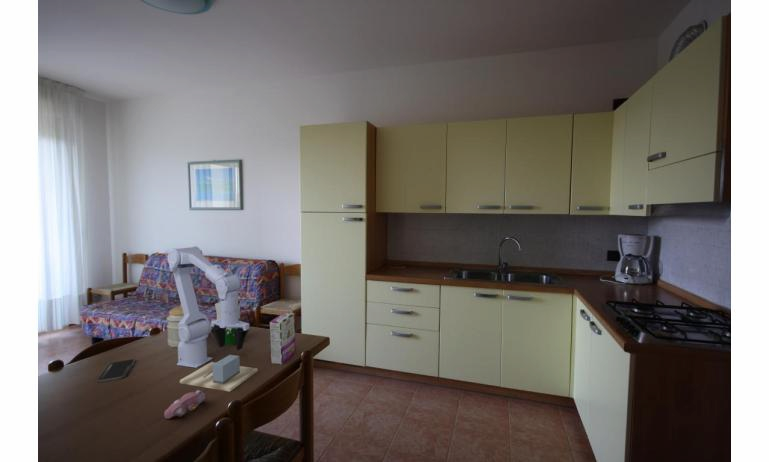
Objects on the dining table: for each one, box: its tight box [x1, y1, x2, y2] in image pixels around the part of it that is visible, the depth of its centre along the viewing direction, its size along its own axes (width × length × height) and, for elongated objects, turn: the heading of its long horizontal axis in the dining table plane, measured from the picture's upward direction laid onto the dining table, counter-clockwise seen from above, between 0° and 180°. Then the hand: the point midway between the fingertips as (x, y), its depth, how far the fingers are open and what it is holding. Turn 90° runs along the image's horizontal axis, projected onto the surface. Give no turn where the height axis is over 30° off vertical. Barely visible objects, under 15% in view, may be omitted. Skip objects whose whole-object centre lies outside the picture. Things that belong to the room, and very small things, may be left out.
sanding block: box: [212, 354, 241, 384], centre depth 114 cm, size 4×8×6 cm, turn 165°
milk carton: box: [214, 299, 242, 346], centre depth 147 cm, size 9×9×20 cm
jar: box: [166, 304, 197, 348], centre depth 147 cm, size 13×13×18 cm
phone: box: [97, 358, 136, 383], centre depth 121 cm, size 8×1×15 cm
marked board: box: [179, 361, 258, 392], centre depth 116 cm, size 20×14×1 cm
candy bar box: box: [269, 312, 297, 365], centre depth 131 cm, size 11×5×16 cm, turn 168°
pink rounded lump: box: [163, 389, 207, 420], centre depth 96 cm, size 10×5×7 cm, turn 150°
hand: (230, 347), depth 118 cm, fingers open, 7 cm apart
